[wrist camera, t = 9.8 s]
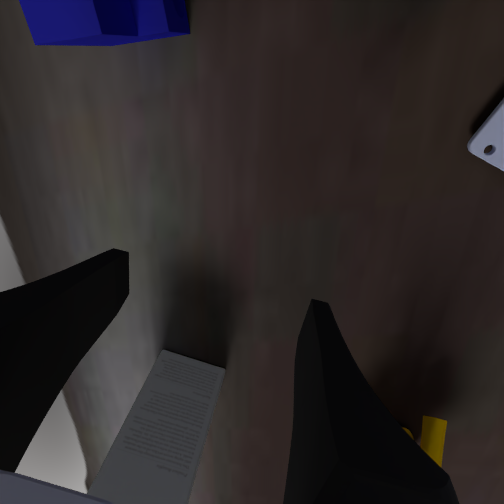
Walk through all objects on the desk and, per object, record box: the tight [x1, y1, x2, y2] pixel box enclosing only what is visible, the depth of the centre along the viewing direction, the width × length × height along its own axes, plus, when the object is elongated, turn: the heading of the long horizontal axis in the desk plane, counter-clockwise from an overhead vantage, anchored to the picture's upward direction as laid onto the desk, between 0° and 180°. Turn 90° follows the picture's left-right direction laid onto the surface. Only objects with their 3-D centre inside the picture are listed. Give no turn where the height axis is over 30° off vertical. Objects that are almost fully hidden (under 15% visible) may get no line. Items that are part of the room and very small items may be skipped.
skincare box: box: [87, 350, 226, 504], centre depth 26 cm, size 6×4×12 cm
